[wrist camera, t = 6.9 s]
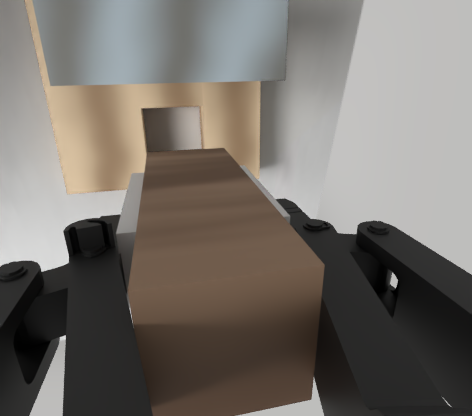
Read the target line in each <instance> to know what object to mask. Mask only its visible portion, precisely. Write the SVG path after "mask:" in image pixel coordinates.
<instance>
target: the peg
mask: <svg viewBox="0 0 472 416" xmlns="http://www.w3.org/2000/svg"><path fill="white" fill-rule="evenodd" d="M324 267H325V265H324V264H323V262H322V261H321V260H320V259H319V258H318V257H317V255H316V254H315V253H314V252H313V251H312V250H311V248H310V247H309V246H308V245H307V244H306V243H305V241H304V240H303V239H302V238H301V237H300V236H299V234H298V233H297V232H296V231H295V230H294V229H293V227H292V226H291V225H290V224H289V223H288V222H287V220H286V219H285V218H284V217H283V216H282V215H281V213H280V212H279V211H278V210H277V209H276V208H275V206H274V205H273V204H272V203H271V202H270V201H269V199H268V198H267V197H266V196H265V195H264V194H263V192H262V191H261V190H260V189H259V188H258V187H257V185H256V184H255V183H254V182H253V181H252V180H251V178H250V177H249V176H248V175H247V174H246V173H245V172H244V170H243V169H242V168H241V167H240V166H239V165H238V163H237V162H236V161H235V160H234V159H233V158H232V156H231V155H230V154H229V153H228V152H227V151H226V149H225V148H211V149H195V150H178V151H161V152H147V156H146V164H145V171H144V178H143V185H142V192H141V200H140V207H139V214H138V221H137V228H136V235H135V243H134V250H133V257H132V264H131V271H130V278H129V286H128V296H129V302H130V308H131V314H132V320H133V326H134V332H135V337H136V341H137V346H138V350H139V355H140V359H141V364H142V368H143V373H144V377H145V382H146V386H147V391H148V395H149V400H150V404H151V409H152V413H153V416H236V415H240V414H246V413H250V412H255V411H260V410H265V409H269V408H274V407H279V406H283V405H288V404H292V403H297V402H302V401H307V400H311V397H312V388H313V377H314V368H315V358H316V348H317V338H318V327H319V317H320V307H321V297H322V287H323V277H324Z"/></svg>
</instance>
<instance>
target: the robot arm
mask: <svg viewBox="0 0 472 416" xmlns="http://www.w3.org/2000/svg"><path fill="white" fill-rule="evenodd" d="M240 167H241V168H242V169H243V170H244V172H245V173H246V174H247V175H248V176H249V177H250V178H251V180H252V181H253V182H254V183H255V184H256V185H257V187H258V188H259V189H260V190H261V191H262V192H263V194H264V195H265V196H266V197H267V198H268V199H269V201H270V202H271V203H272V204H273V205H274V206H275V208H276V209H277V210H278V211H279V212H280V213H281V215H282V216H283V217H284V218H285V219H286V220H287V222H288V223H289V224H290V225H291V226H292V227H293V229H294V230H295V231H296V232H297V233H298V234H299V236H300V237H301V238H302V239H303V240H304V241H305V243H306V244H307V245H308V246H309V247H310V248H311V250H312V251H313V252H314V253H315V254H316V255H317V257H318V258H319V259H320V260H321V261H322V262H323V264H324V265H325V267H324V277H323V287H322V297H321V307H320V317H319V327H318V338H317V348H316V358H315V368H314V378H315V382H316V385H317V390H318V393H319V397H320V401H321V405H322V409H323V412H324V416H472V275H471V274H469V273H468V272H466V271H465V270H463V269H461V268H460V267H458V266H456V265H455V264H453V263H452V262H450V261H449V260H447V259H445V258H444V257H442V256H440V255H439V254H437V253H436V252H434V251H432V250H431V249H429V248H428V247H426V246H424V245H422V244H421V243H420V242H418V241H416V240H415V239H413V238H412V237H410V236H408V235H407V234H405V233H404V232H402V231H400V230H399V229H397V228H396V227H394V226H392V225H389V224H386V223H383V222H381V221H378V222H377V221H369V222H363V223H360V224H359V225H358V228H357V234H339V233H337V231H336V230H335V228H334V227H333V226H332V225H331V224H330V223H328V222H325V221H322V220H317V219H310V218H309V217H308V216H307V215H306V214H305V213H304V212H302V210H301V209H300V208H298V206H297V205H296V204H295V203H294V202H292V201H289V200H287V199H274V198H273V196H272V195H271V194H270V193H269V192H268V191H267V190H266V189H265V188H264V186H263V185H262V184H261V183H260V182H259V181H258V180H257V179H256V178H255V177H254V175H253V174H252V173H251V172H250V171H249V170H248V169H247V168H246V167H245V165H243V166H240ZM143 178H144V172H143V173H132V174H131V178H130V181H129V185H128V189H127V193H126V197H125V201H124V205H123V208H122V212H121V215H111V216H102V217H100V218H92V219H85V220H81V221H77V222H75V223H72V224H70V225H69V226H67V227H66V228H65V230H64V231H63V232H64V236H65V240H66V245H67V249H68V253H69V263H68V264H66V265H64V266H61V267H58V268H55V269H51V270H47V271H44V272H41V268H40V266H39V264H38V263H37V262H33V261H19V262H11V263H9V264H8V263H7V264H4V265H2V266H1V267H0V416H29V415H30V412H31V410H32V407H33V405H34V403H35V400H36V398H37V396H38V393H39V391H40V388H41V385H42V383H43V381H44V379H45V376H46V374H47V371H48V369H49V367H50V364H51V362H52V359H53V357H54V355H55V352H56V350H57V347H58V345H59V340H60V338H59V337H61V336H64V335H66V350H65V374H64V398H63V399H64V400H63V416H153V413H152V409H151V404H150V400H149V395H148V391H147V386H146V382H145V377H144V373H143V368H142V364H141V359H140V355H139V350H138V346H137V341H136V337H135V332H134V328H133V323H132V319H131V314H130V310H129V308H130V302H129V296H128V286H129V278H130V271H131V264H132V257H133V250H134V243H135V235H136V228H137V221H138V214H139V207H140V200H141V192H142V185H143ZM392 272H393V273H394V274H395V276H396V277H397V279H398V284H397V287H396V289H395V288H394V287H393V286H391V285H390V280H391V275H392ZM442 397H443V398H444V399H445V400H446V401H447V402H448V403H449V404H450V405H451V406H452V407H450V406H449V405H448V404H447V403H446V402H445V400H444V399H443V398H442Z"/></svg>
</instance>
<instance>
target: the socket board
mask: <svg viewBox="0 0 472 416" xmlns="http://www.w3.org/2000/svg"><path fill="white" fill-rule="evenodd" d="M288 1H289V0H25V4H26V9H27V14H28V18H29V23H30V27H31V32H32V36H33V41H34V45H35V50H36V54H37V59H38V64H39V68H40V73H41V77H42V82H43V86H44V91H45V95H46V100H47V104H48V109H49V113H50V118H51V123H52V127H53V132H54V136H55V141H56V145H57V150H58V154H59V159H60V163H61V168H62V172H63V177H64V182H65V186H66V191H67V194H76V193H89V192H101V191H113V190H125V189H128V185H129V181H130V178H131V174H132V173H143V172H144V171H145V164H146V156H147V152H148V151H147V142H146V134H145V125H144V117H143V108H165V107H192V106H199V107H200V126H201V144H202V149H211V148H225V149H226V151H227V152H228V153H229V154H230V155H231V156H232V158H233V159H234V160H235V161H236V162H237V163H238V165H239V166H243V165H245V167H246V168H247V169H248V170H249V171H250V172H251V173H252V174H253V175H254V177H255V178H256V179H259V168H260V83H261V81H280V80H285V79H286V53H287V27H288Z"/></svg>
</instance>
